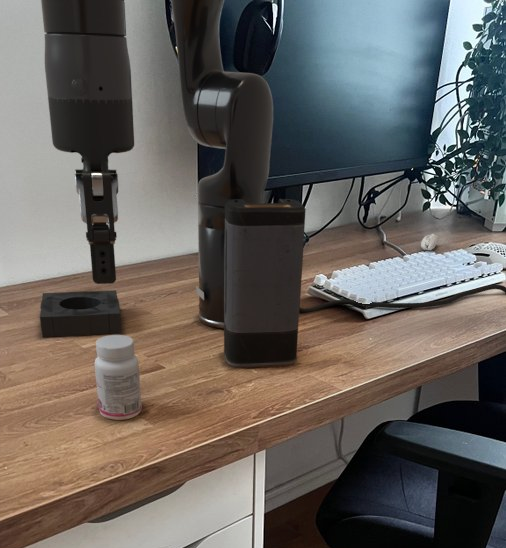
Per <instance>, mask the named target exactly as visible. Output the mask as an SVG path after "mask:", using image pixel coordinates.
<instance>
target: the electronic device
mask: <svg viewBox="0 0 506 548" xmlns="http://www.w3.org/2000/svg"><path fill="white" fill-rule="evenodd" d="M306 210H307V209H306V208H305V206H304V205H303V204H302V203H300V202H299V201H298V200H296V199H288V198H279V199H278V202H266V203H265V202H263V203H246V202H245V201H244V200H243V199H234V200H229V201H228V202H227V203H226V204H225V248H224V329H223V355H224V358H225V361H226V363H227V364H228V365H229V366H231V367H233V368H236V369H237V368H239V369H240V368H241V369H242V368H243V369H244V368H264V367H265V368H267V367H286V366H291V365H293V364H294V363H296V362H297V354H298V353H297V352H298V338H299V323H300V319H299V318H300V313H299V308H301V293H302V280H303V279H302V278H303V276H302V275H303V263H304V243H305V229H306V228H305V227H306Z"/></svg>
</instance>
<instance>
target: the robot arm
mask: <svg viewBox="0 0 506 548" xmlns="http://www.w3.org/2000/svg"><path fill="white" fill-rule="evenodd" d="M40 3H41V14H42V23H43V32H44V33H45V34H44V74H45V81H46V91H47V93H46V94H47V101H48V111H49V121H50V131H51V132H50V133H51V139H52V146H53V148H55V149H56V150H58V151H60V152H64V153H71V154H74V153H75V154H76V153H77V154H79V155H80V156H81V157H80V159H81V163H82V166H83V167H82V169H81V168H80V169H79V168H78V169H77V168H75V169H74V172H75V173H74V178H75V191H76V193H77V195H79V196H78V197H79V208H80V218H81V221H82V222H83V223H84V224H86V231H85V238H86V241H87V242H88V245H89V250H90V263H91V273H92V274H91V275H92V281H93V283H94V284H97V285H106V284H108V285H110V284H114V283H116V281H117V273H116V272H117V271H116V258H115V255H116V254H115V244H116V241H117V238H118V237H117V231H116V229H115V224H116V223H117V222H118V220H119V208H118V194H119V176H118V175H119V174H118V173H117V169H111V168H109V157H110V155H112V154H122V153H127V152H130V151H132V150H134V147H135V127H134V108H133V88H132V87H133V86H132V70H131V59H130V55H129V50H128V41H127V37H126V36H127V24H126V23H127V21H126V5H125V4H126V3H125V0H40ZM170 4H171V9H172V18H173V25H174V31H175V32H174V33H175V40H176V41H175V42H176V51H177V63H178V72H179V85H180V95H181V96H180V97H181V105H182V111H183V117H184V121H185V125H186V127H187V130H188V132H189V134H190V136H191V137H192V139H193V140H194V141H195V142H196V143H197V144H199V145H201V146H204V147H209V148H215V149H221V150H222V149H224V150H225V154H224V162H223V166H222V168H220V170H219V171H218V172H216V173H213V174H211V175H206V176H204V177H203V178H201V179H200V180H199V181H198V184H197V223H198V224H197V229H198V231H197V235H198V236H197V237H198V239H197V240H198V245H197V247H198V286H197V285H195V293H196V294H197V295H198V320H199V322H200V323H202V324H204V325H206V326H209V327H211V328H217V329H223V330H224V248H225V204H226V203H227V202H228V201H229V200H234V199H243V200H244V201H245V202H246V203H264V196H265V190H266V187H267V183H268V179H269V174H270V163H271V152H272V151H271V150H272V141H273V140H272V139H273V129H274V102H273V101H274V100H273V95H272V91H271V88H270V86H269V84H268V82H267V80H266V79H265V78H264V77H262V76H261V75H259V74H257V73H252V72H240V71H239V72H238V71H225V70H224V66H223V59H222V54H221V43H220V41H221V40H220V24H221V23H220V22H221V16H222V11H223V8H224V4H225V0H170ZM490 290H499V291H502V292H504V293H505V294H506V286H505V285H502V284H488V285H485V286H481V287H477V288H475V289H471V290H466V291H462V292H459V293H457V294H455V295H452V296H450V297H449V298H445V299H441V300H434V301H425V302H380V301H371V302H372V303H370V304H362V303H358V302H356V301H354V300H355V299H336V300H331V301H327V302H324V303H321V304H319V305H317V306H313V307H310V308H304V307H300V308H299V314H309V313H312V312H316V311H320V310H324V309H326V308H330V307H333V306H334V307H335V306H346V305H347V306H362V307H371V308H382V309H419V308H420V309H421V308H430V307H431V308H433V307H438V306H444V305H447V304H451V303H453V302H456V301H457V300H459V299H462V298H464V297H468V296H472V295H477V294H479V293H484V292H486V291H487V292H488V291H490Z"/></svg>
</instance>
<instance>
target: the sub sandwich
mask: <svg viewBox="0 0 506 548" xmlns="http://www.w3.org/2000/svg"><path fill="white" fill-rule="evenodd" d="M438 242H439V236H438V235H437V234H435V233H431V234H428V235H425V236H424V237H423V238H422V240H421V242H420V248H421V249H422V250H424V251H432V250H433V249H435V248H436V247H437V245H438Z"/></svg>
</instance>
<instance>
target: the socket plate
mask: <svg viewBox="0 0 506 548" xmlns="http://www.w3.org/2000/svg"><path fill="white" fill-rule="evenodd" d="M41 296H42V297H41V302H40V313H39V321H40V329H41V337H42V338H55V337H56V338H57V337H81V336H92V335H117V334H122V331H123V330H122V317H121V310H120V309H121V307H120V301H119V298H118V293H117V289H115V290H87V291H86V290H85V291H84V290H83V291H68V292H67V291H65V292H64V291H63V292H62V291H61V292H44V293H43V292H42V295H41Z"/></svg>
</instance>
